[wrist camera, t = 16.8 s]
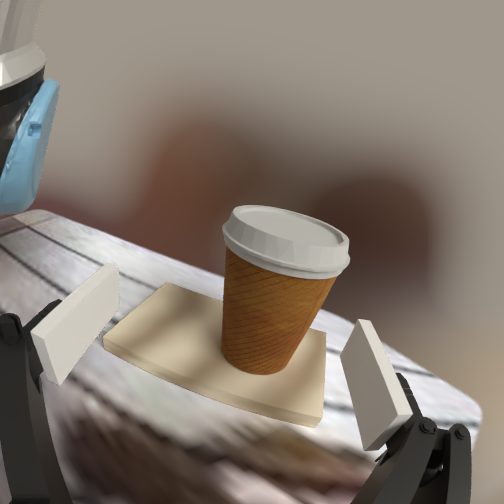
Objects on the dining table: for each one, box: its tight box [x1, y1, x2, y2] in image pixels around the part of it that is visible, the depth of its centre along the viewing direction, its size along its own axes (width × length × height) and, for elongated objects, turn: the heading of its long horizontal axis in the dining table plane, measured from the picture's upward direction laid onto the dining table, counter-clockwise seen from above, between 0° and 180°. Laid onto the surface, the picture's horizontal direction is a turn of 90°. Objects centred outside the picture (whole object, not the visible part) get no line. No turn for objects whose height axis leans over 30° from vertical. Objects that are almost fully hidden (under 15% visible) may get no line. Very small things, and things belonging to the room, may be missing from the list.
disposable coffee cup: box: [221, 205, 350, 375], centre depth 22 cm, size 10×10×12 cm
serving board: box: [103, 282, 326, 428], centre depth 25 cm, size 19×12×2 cm, turn 76°
